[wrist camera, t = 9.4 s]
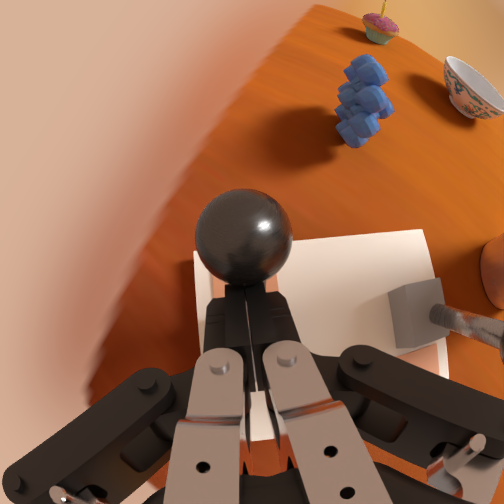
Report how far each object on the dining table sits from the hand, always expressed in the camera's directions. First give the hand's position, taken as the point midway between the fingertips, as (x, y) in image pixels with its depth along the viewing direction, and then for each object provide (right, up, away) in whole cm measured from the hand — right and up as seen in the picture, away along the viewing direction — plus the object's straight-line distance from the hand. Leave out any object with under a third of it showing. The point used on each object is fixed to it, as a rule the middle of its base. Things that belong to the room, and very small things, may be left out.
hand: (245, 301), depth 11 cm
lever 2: (+14, -3, +6) cm, 16 cm away
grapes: (+12, +16, +19) cm, 28 cm away
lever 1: (0, -4, +6) cm, 8 cm away
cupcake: (+28, +49, +30) cm, 64 cm away
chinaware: (+42, +31, +24) cm, 57 cm away
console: (+7, -5, +11) cm, 14 cm away
